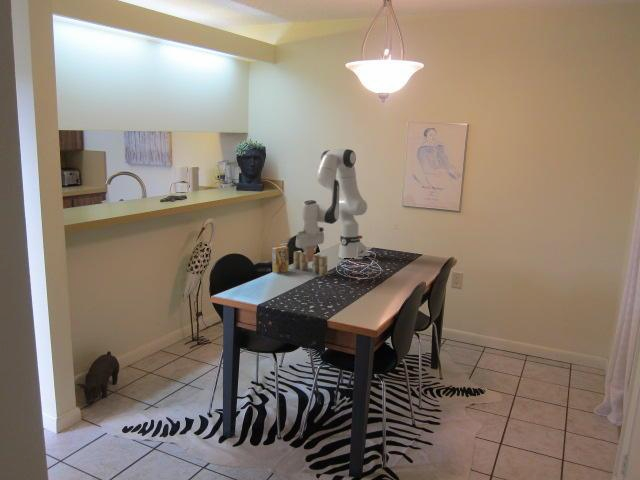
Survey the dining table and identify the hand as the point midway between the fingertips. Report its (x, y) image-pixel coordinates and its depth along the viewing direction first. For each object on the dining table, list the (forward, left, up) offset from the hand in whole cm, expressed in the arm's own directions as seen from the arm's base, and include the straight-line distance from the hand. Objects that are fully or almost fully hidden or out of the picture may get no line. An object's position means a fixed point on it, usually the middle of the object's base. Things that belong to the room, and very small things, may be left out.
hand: (309, 253), depth 292 cm
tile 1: (0, -10, -10) cm, 14 cm away
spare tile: (0, 0, -5) cm, 5 cm away
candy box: (+12, -12, -12) cm, 21 cm away
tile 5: (0, +10, -10) cm, 14 cm away
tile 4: (0, +5, -10) cm, 12 cm away
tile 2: (0, -5, -10) cm, 11 cm away
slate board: (0, 0, -12) cm, 12 cm away
